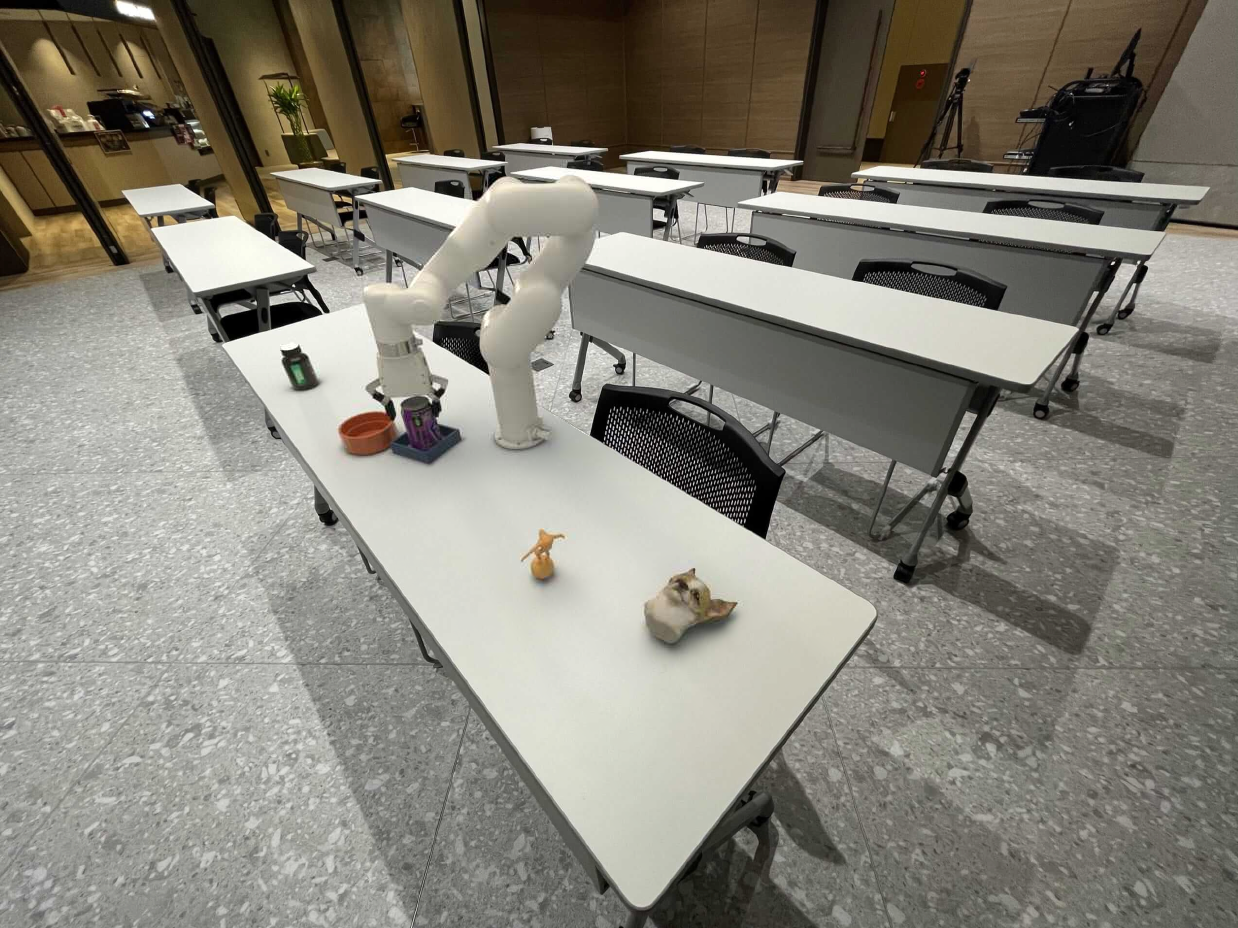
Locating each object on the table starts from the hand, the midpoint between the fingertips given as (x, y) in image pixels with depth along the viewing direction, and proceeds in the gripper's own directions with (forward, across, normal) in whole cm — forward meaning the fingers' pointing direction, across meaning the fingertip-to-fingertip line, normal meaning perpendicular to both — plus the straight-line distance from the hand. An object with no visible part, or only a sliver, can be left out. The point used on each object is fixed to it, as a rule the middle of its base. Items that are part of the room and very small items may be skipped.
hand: (415, 416), depth 115 cm
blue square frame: (+8, -1, 0) cm, 8 cm away
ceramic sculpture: (+7, -47, +59) cm, 76 cm away
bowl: (+9, +13, -5) cm, 16 cm away
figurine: (+8, -26, +47) cm, 54 cm away
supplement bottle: (+10, +38, -41) cm, 57 cm away
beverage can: (+9, -1, 0) cm, 9 cm away
